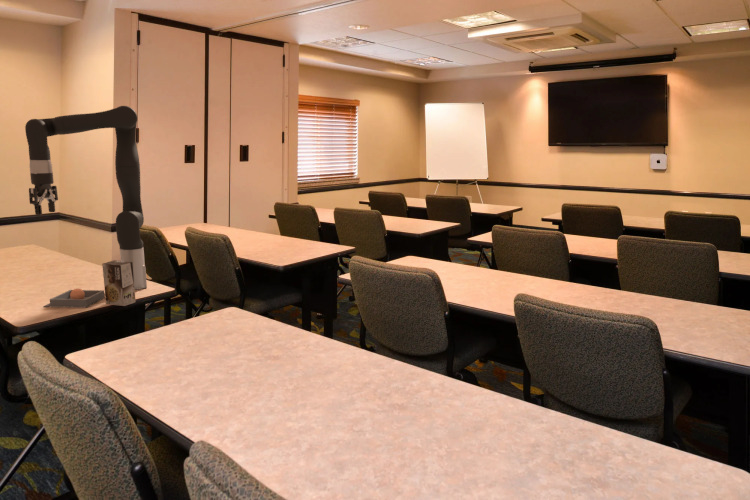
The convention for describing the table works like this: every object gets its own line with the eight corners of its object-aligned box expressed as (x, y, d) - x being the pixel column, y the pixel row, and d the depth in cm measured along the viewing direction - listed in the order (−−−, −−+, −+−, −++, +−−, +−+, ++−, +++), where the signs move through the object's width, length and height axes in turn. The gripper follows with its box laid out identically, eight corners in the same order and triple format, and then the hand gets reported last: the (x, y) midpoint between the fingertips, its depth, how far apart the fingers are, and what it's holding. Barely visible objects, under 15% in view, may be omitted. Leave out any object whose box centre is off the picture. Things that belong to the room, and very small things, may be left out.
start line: (69, 296, 221) (69, 296, 221) (48, 307, 207) (48, 306, 207) (65, 296, 221) (64, 296, 221) (43, 306, 207) (43, 306, 207)
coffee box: (136, 302, 215) (133, 261, 212) (123, 306, 209) (120, 265, 206) (117, 299, 218) (114, 259, 215) (105, 304, 212) (101, 262, 209)
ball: (85, 298, 217) (84, 286, 216) (85, 302, 213) (84, 289, 212) (70, 300, 215) (69, 287, 214) (70, 303, 211) (69, 291, 210)
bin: (104, 297, 221) (103, 290, 220) (86, 307, 207) (85, 299, 207) (70, 297, 221) (70, 289, 220) (50, 306, 208) (49, 299, 207)
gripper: (43, 170, 222) (47, 211, 225) (19, 172, 208) (24, 215, 211) (61, 171, 222) (65, 211, 225) (39, 172, 208) (43, 215, 211)
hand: (45, 213), depth 218 cm, fingers open, 8 cm apart
